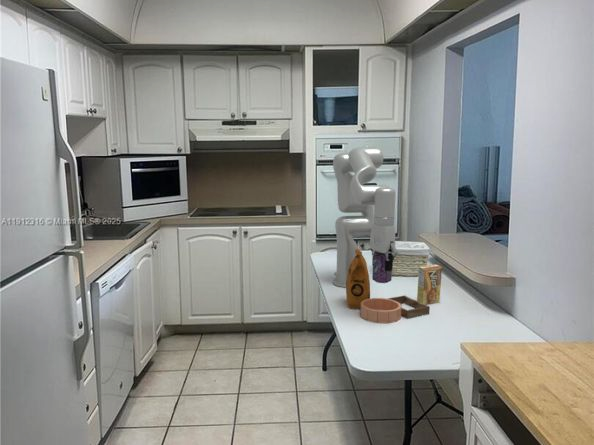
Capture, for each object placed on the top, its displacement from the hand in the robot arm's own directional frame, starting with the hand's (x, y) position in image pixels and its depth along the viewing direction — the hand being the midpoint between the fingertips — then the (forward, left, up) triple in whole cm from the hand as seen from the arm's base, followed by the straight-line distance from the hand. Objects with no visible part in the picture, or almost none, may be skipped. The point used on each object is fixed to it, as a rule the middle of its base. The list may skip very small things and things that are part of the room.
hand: (382, 267), depth 186 cm
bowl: (0, 0, -19) cm, 19 cm away
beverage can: (0, 0, -5) cm, 5 cm away
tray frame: (0, +12, -19) cm, 23 cm away
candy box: (-3, +27, -19) cm, 33 cm away
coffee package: (-15, -1, -19) cm, 24 cm away
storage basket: (-44, +46, -19) cm, 66 cm away
